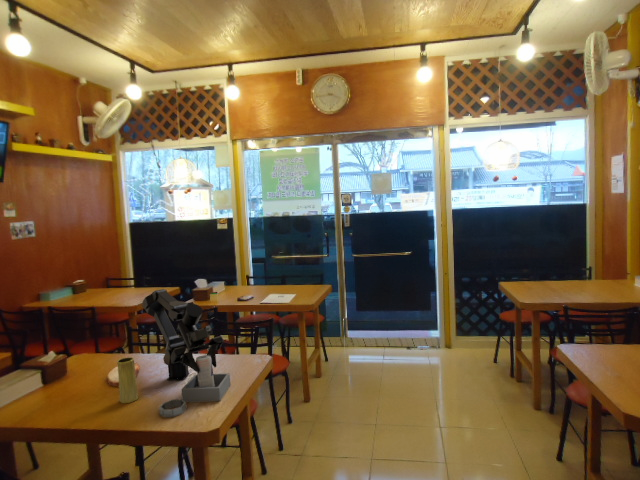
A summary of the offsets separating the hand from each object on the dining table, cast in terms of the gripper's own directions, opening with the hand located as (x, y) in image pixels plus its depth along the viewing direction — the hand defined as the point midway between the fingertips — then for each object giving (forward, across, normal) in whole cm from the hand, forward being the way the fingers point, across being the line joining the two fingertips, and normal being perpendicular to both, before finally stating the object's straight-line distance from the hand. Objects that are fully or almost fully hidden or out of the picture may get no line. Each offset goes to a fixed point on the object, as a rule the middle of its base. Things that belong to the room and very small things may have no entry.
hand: (207, 369), depth 149 cm
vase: (-7, -21, +20) cm, 30 cm away
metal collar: (+8, -14, +5) cm, 17 cm away
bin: (+5, 0, +7) cm, 9 cm away
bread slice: (-24, -13, +37) cm, 46 cm away
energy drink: (+5, 0, +7) cm, 8 cm away
